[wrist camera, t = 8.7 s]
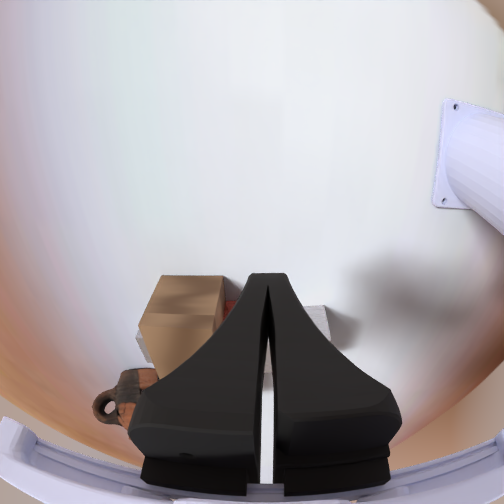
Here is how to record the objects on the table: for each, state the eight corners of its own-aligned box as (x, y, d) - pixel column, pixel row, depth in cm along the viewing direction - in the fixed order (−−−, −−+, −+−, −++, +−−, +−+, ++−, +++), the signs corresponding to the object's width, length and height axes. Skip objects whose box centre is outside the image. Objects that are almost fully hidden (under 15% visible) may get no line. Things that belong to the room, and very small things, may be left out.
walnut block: (222, 275, 23) (211, 329, 18) (234, 371, 29) (229, 419, 24) (161, 275, 24) (138, 325, 19) (187, 369, 30) (176, 415, 25)
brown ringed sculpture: (180, 362, 30) (192, 437, 26) (189, 376, 38) (199, 435, 34) (78, 368, 28) (84, 440, 24) (106, 382, 36) (112, 439, 32)
